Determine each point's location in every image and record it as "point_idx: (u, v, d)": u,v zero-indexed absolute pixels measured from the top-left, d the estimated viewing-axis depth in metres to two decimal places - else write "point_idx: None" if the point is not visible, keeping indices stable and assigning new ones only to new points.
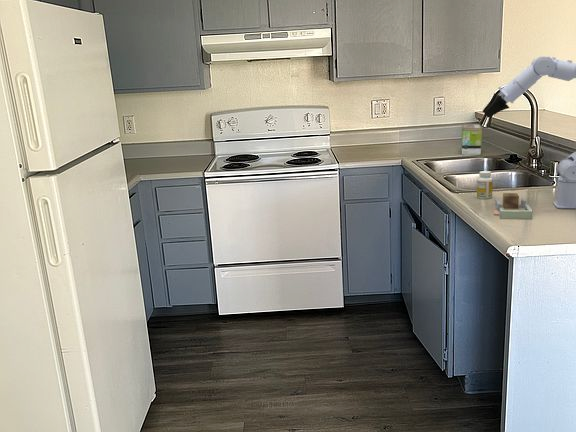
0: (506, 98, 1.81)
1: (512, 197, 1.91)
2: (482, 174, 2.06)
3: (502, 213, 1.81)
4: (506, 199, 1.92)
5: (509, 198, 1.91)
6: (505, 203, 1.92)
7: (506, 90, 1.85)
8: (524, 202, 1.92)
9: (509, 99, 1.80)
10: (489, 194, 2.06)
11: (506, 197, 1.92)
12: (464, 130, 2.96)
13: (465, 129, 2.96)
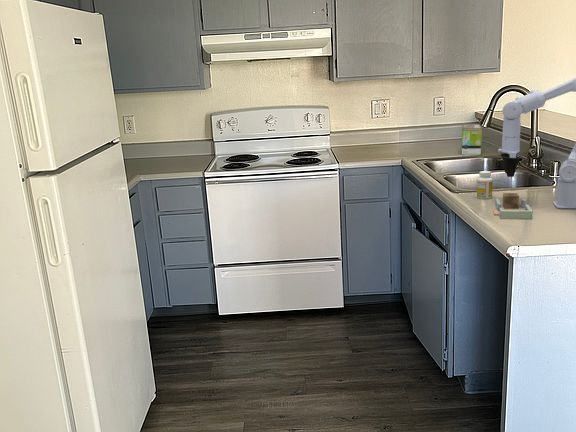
0: (511, 155, 1.89)
1: (512, 197, 1.91)
2: (482, 174, 2.06)
3: (502, 213, 1.81)
4: (506, 199, 1.92)
5: (509, 198, 1.91)
6: (505, 203, 1.92)
7: (506, 148, 1.94)
8: (524, 202, 1.92)
9: (514, 154, 1.89)
10: (489, 194, 2.06)
11: (506, 197, 1.92)
12: (464, 130, 2.96)
13: (465, 129, 2.96)
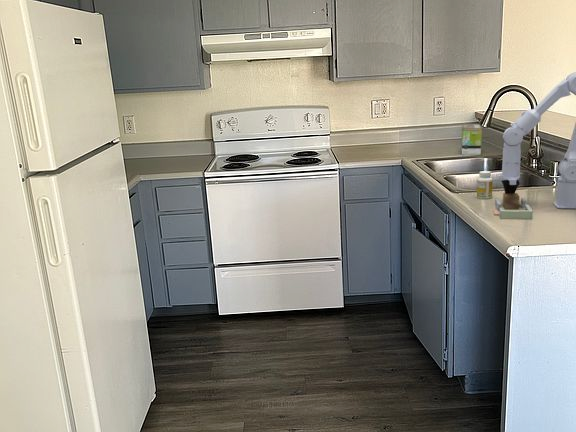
0: (511, 182, 1.88)
1: (512, 197, 1.90)
2: (482, 174, 2.06)
3: (502, 213, 1.81)
4: (506, 199, 1.91)
5: (509, 198, 1.91)
6: (505, 203, 1.92)
7: (506, 174, 1.93)
8: (524, 202, 1.92)
9: (514, 181, 1.88)
10: (489, 194, 2.06)
11: (506, 197, 1.91)
12: (464, 130, 2.96)
13: (465, 129, 2.96)
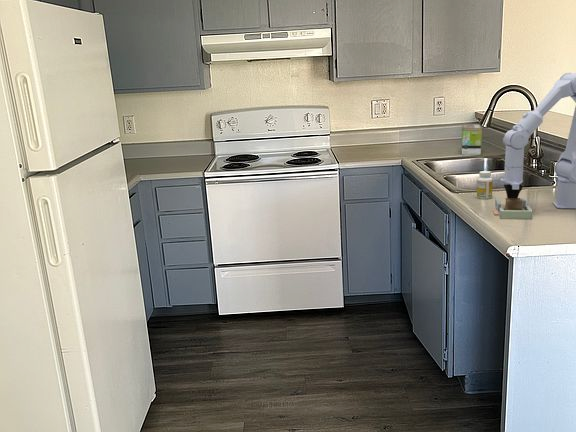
0: (514, 187, 1.82)
1: (515, 202, 1.84)
2: (482, 174, 2.06)
3: (502, 213, 1.81)
4: (509, 204, 1.85)
5: (512, 203, 1.84)
6: (508, 208, 1.85)
7: (508, 178, 1.86)
8: (524, 202, 1.92)
9: (517, 186, 1.81)
10: (489, 194, 2.06)
11: (509, 202, 1.84)
12: (464, 130, 2.96)
13: (465, 129, 2.96)
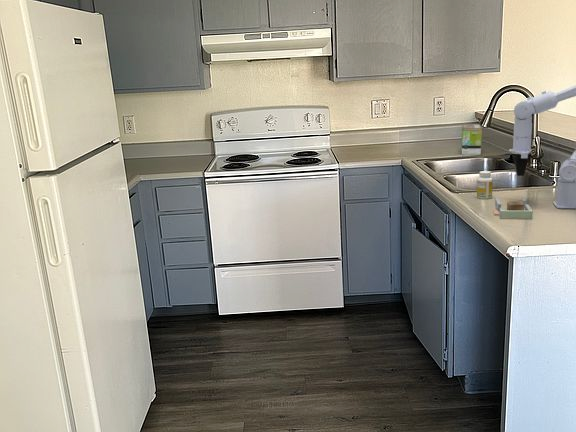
0: (523, 156, 1.88)
1: (517, 205, 1.80)
2: (482, 174, 2.06)
3: (502, 213, 1.81)
4: (511, 208, 1.81)
5: (514, 207, 1.81)
6: None
7: (517, 148, 1.92)
8: (524, 202, 1.92)
9: (526, 154, 1.87)
10: (489, 194, 2.06)
11: (511, 205, 1.81)
12: (464, 130, 2.96)
13: (465, 129, 2.96)
